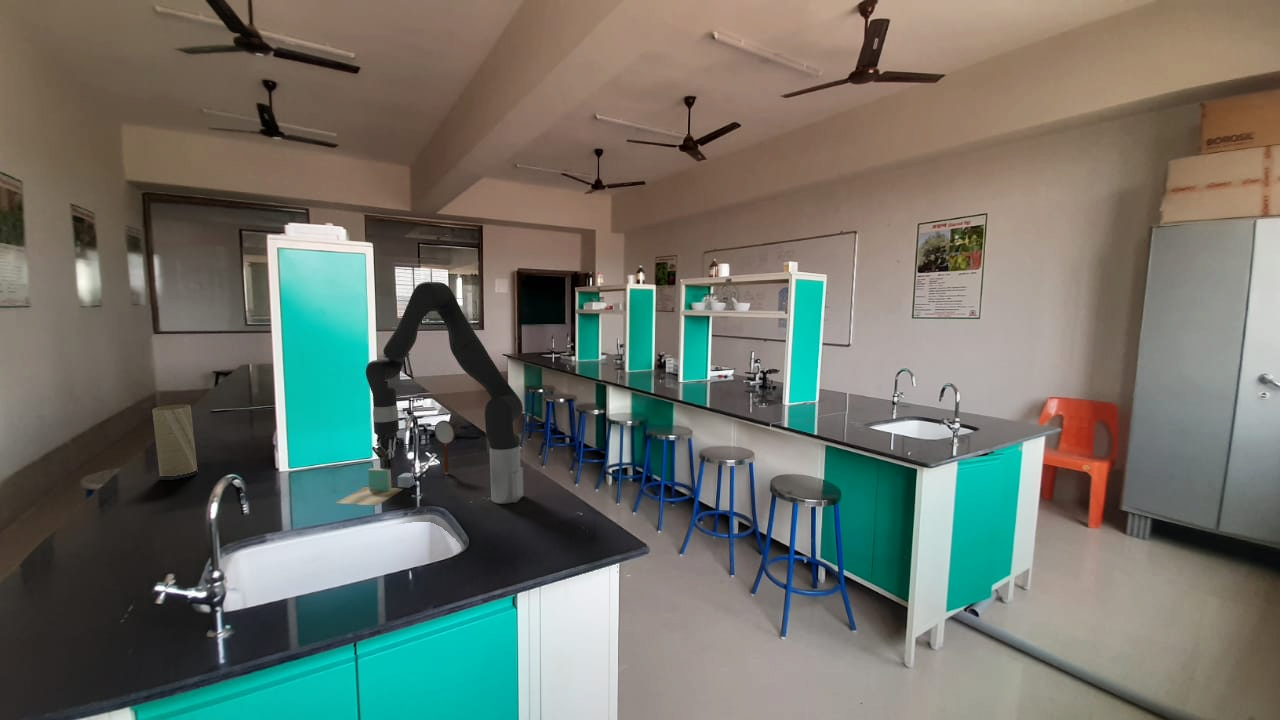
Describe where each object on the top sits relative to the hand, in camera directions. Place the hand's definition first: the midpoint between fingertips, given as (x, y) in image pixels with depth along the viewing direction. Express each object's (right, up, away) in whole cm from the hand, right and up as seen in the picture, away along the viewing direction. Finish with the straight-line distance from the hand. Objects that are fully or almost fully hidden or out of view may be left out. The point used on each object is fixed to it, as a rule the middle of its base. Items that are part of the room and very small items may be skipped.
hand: (389, 468), depth 174 cm
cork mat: (-2, -7, -9) cm, 12 cm away
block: (+6, -6, 0) cm, 9 cm away
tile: (-1, -6, -4) cm, 7 cm away
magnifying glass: (+15, -5, +12) cm, 20 cm away
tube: (-80, -5, +10) cm, 81 cm away
